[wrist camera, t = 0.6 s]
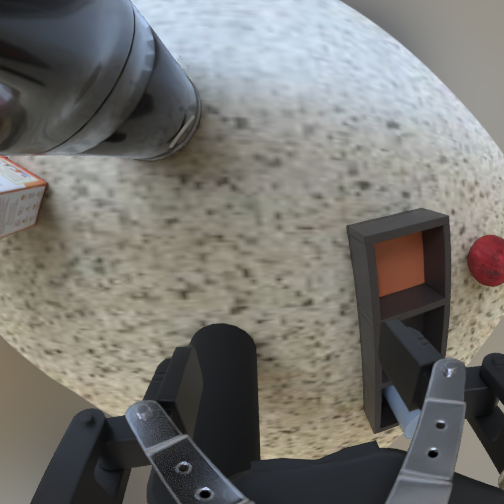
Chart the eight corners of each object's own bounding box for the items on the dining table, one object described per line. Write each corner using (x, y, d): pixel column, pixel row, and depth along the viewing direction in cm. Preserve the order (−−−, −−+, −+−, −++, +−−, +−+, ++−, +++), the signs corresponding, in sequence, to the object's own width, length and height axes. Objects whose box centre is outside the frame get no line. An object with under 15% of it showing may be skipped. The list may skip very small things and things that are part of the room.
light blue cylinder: (378, 370, 33) (406, 418, 24) (413, 358, 32) (446, 401, 24) (378, 397, 34) (402, 444, 25) (411, 385, 34) (439, 428, 25)
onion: (455, 279, 30) (495, 305, 23) (455, 233, 29) (500, 251, 21) (486, 268, 30) (525, 290, 22) (487, 225, 29) (530, 240, 21)
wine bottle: (259, 326, 31) (278, 648, 2) (253, 380, 33) (258, 640, 4) (188, 320, 31) (93, 621, 2) (189, 374, 33) (133, 624, 4)
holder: (346, 225, 29) (364, 236, 24) (422, 207, 28) (449, 215, 23) (363, 408, 35) (374, 434, 30) (421, 388, 35) (436, 409, 30)
